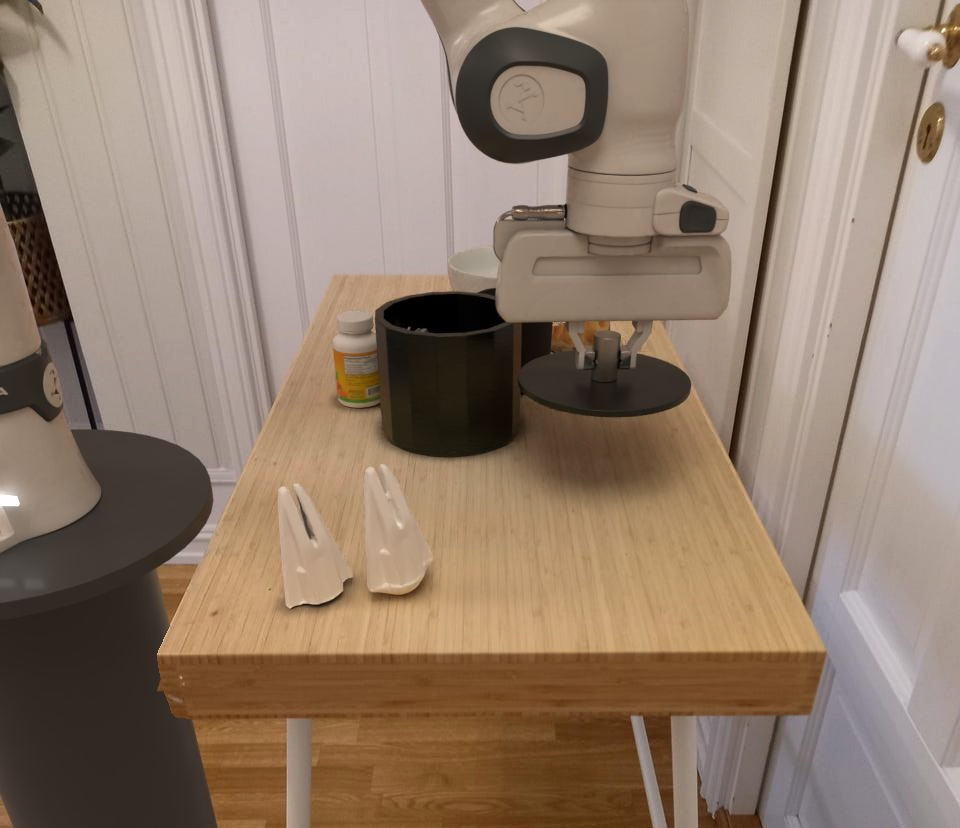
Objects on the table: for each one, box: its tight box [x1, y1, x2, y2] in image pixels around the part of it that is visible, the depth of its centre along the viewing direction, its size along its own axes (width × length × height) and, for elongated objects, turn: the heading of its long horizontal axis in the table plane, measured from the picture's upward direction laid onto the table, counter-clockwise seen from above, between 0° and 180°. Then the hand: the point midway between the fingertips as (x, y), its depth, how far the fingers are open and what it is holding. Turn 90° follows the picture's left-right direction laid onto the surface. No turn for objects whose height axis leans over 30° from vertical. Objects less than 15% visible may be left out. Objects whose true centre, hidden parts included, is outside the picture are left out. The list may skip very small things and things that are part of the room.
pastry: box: [551, 321, 611, 353], centre depth 125 cm, size 9×7×4 cm
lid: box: [518, 330, 692, 419], centre depth 88 cm, size 16×16×5 cm
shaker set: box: [277, 463, 434, 609], centre depth 75 cm, size 12×4×11 cm, turn 95°
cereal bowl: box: [447, 244, 499, 293], centre depth 138 cm, size 17×17×7 cm
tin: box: [374, 290, 522, 458], centre depth 102 cm, size 15×15×12 cm
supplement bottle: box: [332, 310, 381, 409], centre depth 109 cm, size 5×5×10 cm
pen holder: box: [477, 288, 554, 395], centre depth 113 cm, size 9×9×10 cm
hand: (605, 367), depth 88 cm, fingers closed on lid, 2 cm apart
